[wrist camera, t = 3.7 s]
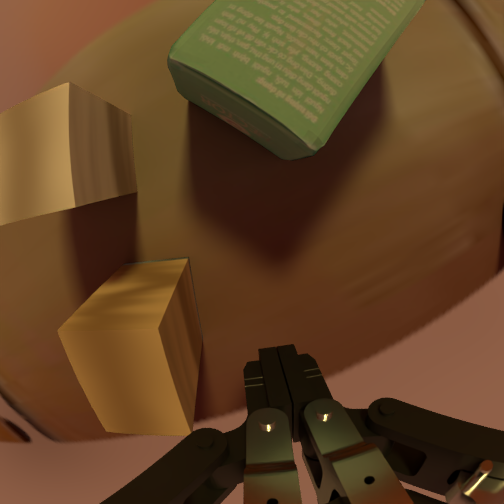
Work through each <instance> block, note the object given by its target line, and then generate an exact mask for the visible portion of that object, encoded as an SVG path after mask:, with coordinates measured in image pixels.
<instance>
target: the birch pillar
mask: <svg viewBox="0 0 504 504" xmlns="http://www.w3.org/2000/svg"><path fill="white" fill-rule="evenodd" d="M135 192H137V184H136V175H135V165H134V153H133V141H132V125H131V115H130V114H128V113H126V112H124V111H123V110H121V109H119V108H117V107H115V106H114V105H112V104H110V103H108V102H106V101H105V100H103V99H101V98H99V97H97V96H95V95H94V94H92V93H90V92H88V91H86V90H84V89H82V88H80V87H79V86H77V85H75V84H73V83H71V82H67V83H65V84H62V85H59V86H57V87H54V88H52V89H50V90H47V91H45V92H43V93H40V94H38V95H36V96H34V97H32V98H30V99H27V100H25V101H23V102H22V103H20V104H17V105H15V106H13V107H12V108H10V109H8V110H6V111H4V112H3V113H0V225H4V224H7V223H11V222H15V221H19V220H23V219H27V218H31V217H35V216H39V215H43V214H48V213H52V212H56V211H61V210H66V209H70V208H75V207H79V206H83V205H86V204H90V203H94V202H98V201H102V200H106V199H110V198H114V197H118V196H122V195H127V194H131V193H135Z"/></svg>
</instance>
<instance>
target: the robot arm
mask: <svg viewBox="0 0 504 504" xmlns="http://www.w3.org/2000/svg"><path fill="white" fill-rule="evenodd" d="M258 351H259V361H251V362H247V364H246V366H245V368H244V370H243V371H244V381H245V391H246V401H247V410H248V416H247V419H246V421H245V422H244V423H243V424H242V425H241V426H240V427H238V428H236V429H234V430H232V431H229V432H226V433H222V432H221V431H219V430H216V429H212V428H201V429H198V430H195V431H193V432H192V433H190V434H189V435H188V436H187V437H186V438H185V439H183V440H182V441H181V442H180V443H178V444H177V445H176V446H175V447H174V448H173V449H171V450H170V451H169V452H168V453H167V454H165V455H164V456H163V457H162V458H160V459H159V460H158V461H157V462H155V463H154V464H153V465H152V466H150V467H149V468H148V469H147V470H145V471H144V472H143V473H141V474H140V475H139V476H137V477H136V478H135V479H134V480H132V481H131V482H129V483H128V484H127V485H125V486H124V487H123V488H121V489H120V490H119V491H117V492H116V493H114V494H113V495H111V496H110V497H109V498H107V499H106V500H104V501H103V502H101V503H100V504H220V503H221V502H222V501H223V500H224V499H225V498H226V497H227V496H228V495H229V494H230V493H231V492H232V491H233V490H234V489H235V487H236V486H237V484H239V483H242V482H244V504H302V500H301V493H300V486H299V479H298V472H297V467H296V464H295V462H294V456H293V449H292V438H293V442H299V441H300V442H301V445H302V457H303V460H304V463H305V466H306V468H307V471H308V473H309V476H310V479H311V481H312V484H313V486H314V489H315V491H316V495H317V501H318V504H504V431H501V430H497V429H492V428H488V427H484V426H481V425H477V424H473V423H469V422H466V421H462V420H459V419H455V418H452V417H448V416H445V415H441V414H438V413H435V412H432V411H429V410H426V409H423V408H420V407H417V406H414V405H411V404H408V403H405V402H402V401H399V400H397V399H393V398H380V399H378V400H376V401H374V402H372V403H371V405H370V406H369V408H368V409H349V408H345V407H343V406H342V405H341V404H340V403H339V402H338V401H336V400H334V399H333V397H332V395H331V393H330V391H329V389H328V387H327V384H326V382H325V380H324V378H323V376H322V373H321V371H320V369H319V367H318V365H317V363H316V361H315V359H314V358H312V357H311V356H310V355H308V354H301V355H298V354H297V351H296V349H295V346H294V344H291V345H284V346H277V347H270V348H263V349H258ZM399 480H400V481H403V482H406V483H408V484H411V485H413V486H416V487H419V488H422V489H425V490H428V491H431V492H434V493H437V494H440V495H444V496H445V497H446V501H447V503H445V502H442V501H439V500H437V499H434V498H431V497H428V496H426V495H423V494H420V493H418V492H415V491H412V490H408V489H404V487H403V486H402V484H401V483H400V481H399Z"/></svg>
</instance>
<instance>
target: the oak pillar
mask: <svg viewBox="0 0 504 504" xmlns="http://www.w3.org/2000/svg"><path fill="white" fill-rule="evenodd" d="M58 334H59V336H60V339H61V341H62V344H63V346H64V349H65V351H66V354H67V356H68V358H69V361H70V363H71V365H72V367H73V370H74V372H75V374H76V376H77V378H78V380H79V382H80V384H81V386H82V388H83V390H84V392H85V394H86V396H87V398H88V400H89V402H90V404H91V406H92V407H93V409H94V411H95V413H96V415H97V416H98V418H99V420H100V422H101V423H102V425H103V427H104V428H105V430H106V431H107V432H116V433H127V434H140V435H161V436H188V435H189V434H190V433H192V432H193V421H194V411H195V401H196V392H197V383H198V374H199V366H200V357H201V349H202V341H203V336H202V331H201V325H200V320H199V315H198V309H197V304H196V298H195V292H194V286H193V280H192V274H191V267H190V261H189V257H183V258H174V259H165V260H155V261H146V262H136V263H127V264H123V265H122V266H121V267H120V268H119V269H118V270H117V271H116V272H115V273H114V274H113V275H112V276H111V277H110V278H109V279H108V280H107V281H105V282H104V283H103V284H102V285H101V286H100V287H99V288H98V289H97V290H96V291H95V292H94V293H93V294H92V295H91V296H90V297H89V298H88V299H87V300H86V301H85V302H84V303H83V304H82V305H81V306H80V307H79V308H78V309H77V310H76V311H75V313H74V314H73V315H72V316H71V317H70V318H69V319H68V320H67V321H66V322H65V323H64V324H63V325H62V326H61V327H60V328H59V329H58Z"/></svg>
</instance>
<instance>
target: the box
mask: <svg viewBox="0 0 504 504" xmlns="http://www.w3.org/2000/svg"><path fill="white" fill-rule="evenodd" d="M424 2H425V0H215V1H214V2H213V3H212V4H211V5H210V6H209V7H208V8H207V9H206V10H205V11H204V12H203V13H202V14H201V15H200V16H199V17H198V18H197V19H196V20H195V21H194V22H193V24H192V25H191V26H190V27H189V28H188V29H187V30H186V31H185V32H184V33H183V35H182V36H181V37H180V38H179V39H178V40H177V41H176V42H175V43H174V44H173V45H172V47H171V49H170V52H169V55H168V59H167V62H168V68H169V70H170V72H171V74H172V77H173V80H174V82H175V85H176V88H177V91H178V92H179V93H180V94H181V95H182V96H183V97H184V98H185V99H187V100H189V101H191V102H192V103H194V104H196V105H198V106H199V107H201V108H203V109H205V110H206V111H208V112H210V113H211V114H213V115H215V116H216V117H218V118H220V119H221V120H223V121H225V122H226V123H228V124H230V125H231V126H233V127H234V128H236V129H237V130H239V131H241V132H242V133H244V134H245V135H247V136H248V137H250V138H251V139H253V140H254V141H256V142H257V143H259V144H260V145H262V146H263V147H265V148H266V149H268V150H269V151H271V152H272V153H274V154H275V155H276V156H278V157H279V158H281V159H284V160H292V161H293V160H298V159H303V158H306V157H310V156H314V155H315V154H316V153H317V151H318V150H319V149H320V148H321V147H322V146H324V145H325V143H326V142H327V140H328V139H329V137H330V135H331V134H332V132H333V131H334V129H335V128H336V126H337V125H338V123H339V122H340V120H341V119H342V117H343V116H344V114H345V113H346V112H347V110H348V109H349V107H350V106H351V104H352V103H353V101H354V100H355V99H356V97H357V96H358V94H359V93H360V91H361V90H362V89H363V87H364V86H365V84H366V83H367V82H368V80H369V79H370V77H371V76H372V74H373V73H374V72H375V70H376V69H377V67H378V66H379V64H380V63H381V62H382V60H383V59H384V57H385V56H386V54H387V53H388V52H389V50H390V49H391V48H392V46H393V45H394V43H395V42H396V41H397V39H398V38H399V37H400V35H401V34H402V32H403V31H404V30H405V28H406V27H407V26H408V24H409V23H410V22H411V20H412V19H413V18H414V16H415V15H416V14H417V12H418V11H419V9H420V8H421V7H422V5H423V4H424Z"/></svg>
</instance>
